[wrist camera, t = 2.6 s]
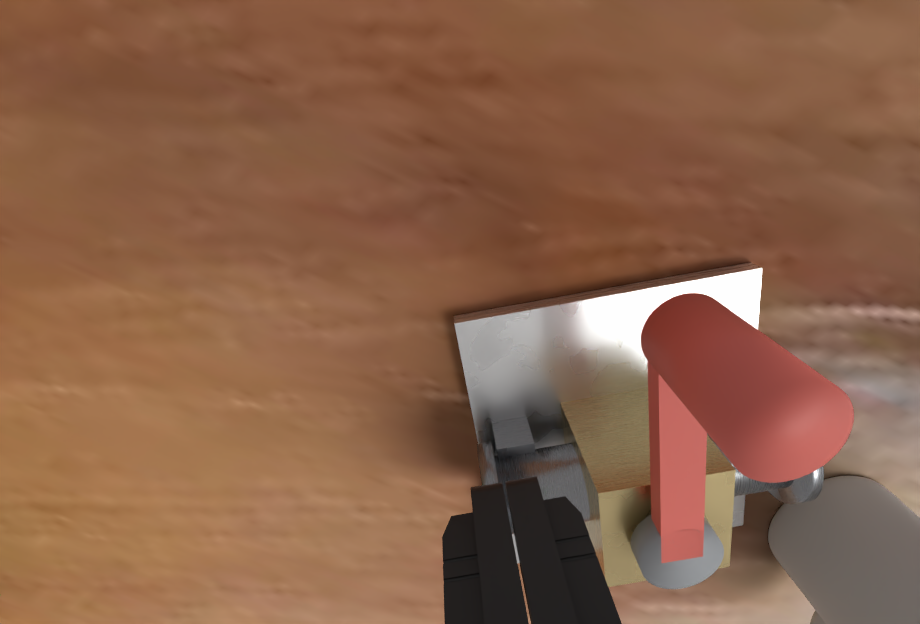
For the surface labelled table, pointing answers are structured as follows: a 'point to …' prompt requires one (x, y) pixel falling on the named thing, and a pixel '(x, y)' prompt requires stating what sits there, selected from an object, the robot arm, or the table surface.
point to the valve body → (597, 407)
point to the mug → (852, 553)
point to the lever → (722, 426)
